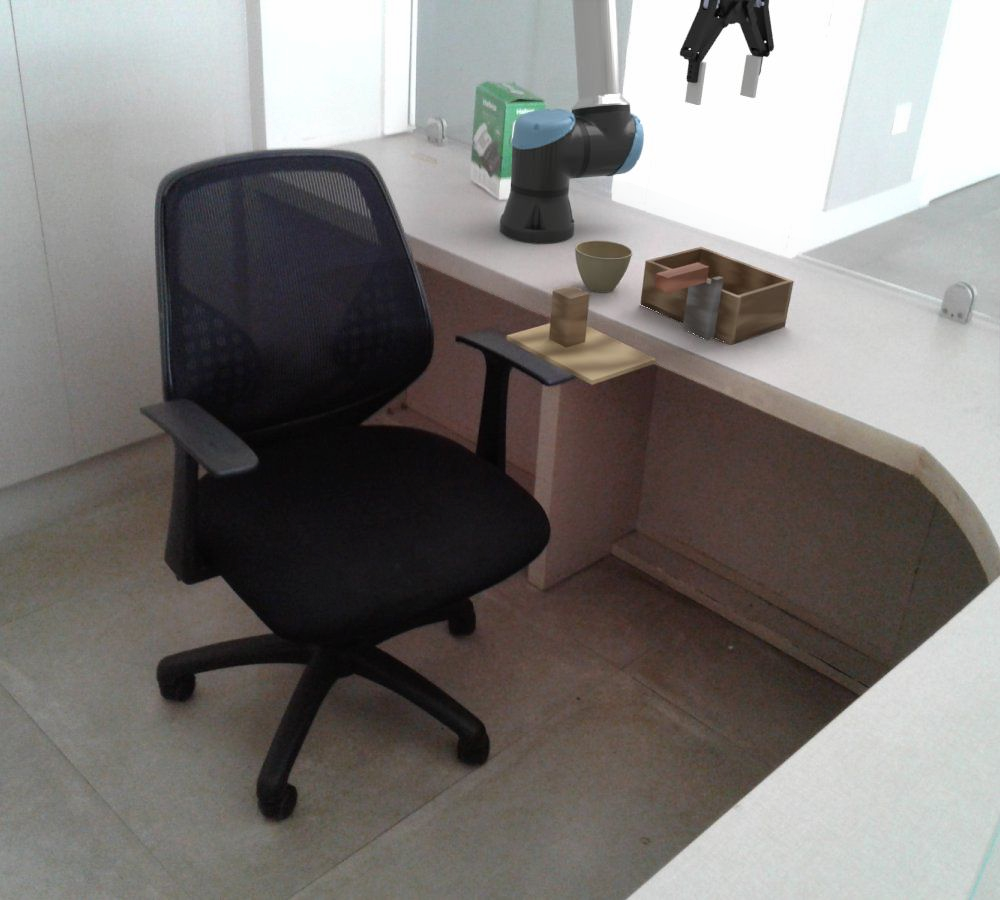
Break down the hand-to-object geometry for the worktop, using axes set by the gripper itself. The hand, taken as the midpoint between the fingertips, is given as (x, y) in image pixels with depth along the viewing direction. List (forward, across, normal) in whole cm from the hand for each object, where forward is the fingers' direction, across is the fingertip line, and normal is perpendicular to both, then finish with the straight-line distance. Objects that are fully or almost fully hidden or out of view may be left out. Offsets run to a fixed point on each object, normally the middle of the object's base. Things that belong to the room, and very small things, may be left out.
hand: (720, 100), depth 174 cm
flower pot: (+33, -16, +8) cm, 37 cm away
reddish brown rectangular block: (+23, -22, -16) cm, 36 cm away
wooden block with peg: (+33, -38, -11) cm, 51 cm away
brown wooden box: (+32, -8, -12) cm, 36 cm away
